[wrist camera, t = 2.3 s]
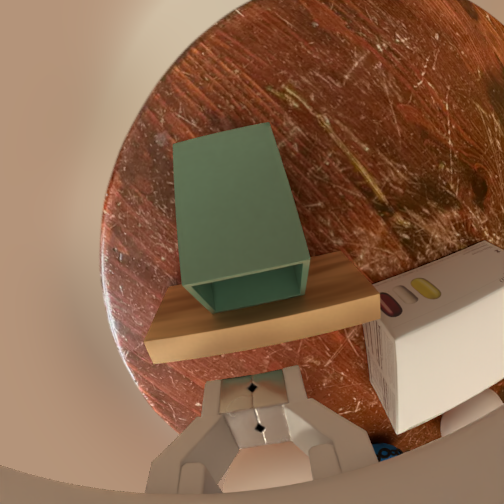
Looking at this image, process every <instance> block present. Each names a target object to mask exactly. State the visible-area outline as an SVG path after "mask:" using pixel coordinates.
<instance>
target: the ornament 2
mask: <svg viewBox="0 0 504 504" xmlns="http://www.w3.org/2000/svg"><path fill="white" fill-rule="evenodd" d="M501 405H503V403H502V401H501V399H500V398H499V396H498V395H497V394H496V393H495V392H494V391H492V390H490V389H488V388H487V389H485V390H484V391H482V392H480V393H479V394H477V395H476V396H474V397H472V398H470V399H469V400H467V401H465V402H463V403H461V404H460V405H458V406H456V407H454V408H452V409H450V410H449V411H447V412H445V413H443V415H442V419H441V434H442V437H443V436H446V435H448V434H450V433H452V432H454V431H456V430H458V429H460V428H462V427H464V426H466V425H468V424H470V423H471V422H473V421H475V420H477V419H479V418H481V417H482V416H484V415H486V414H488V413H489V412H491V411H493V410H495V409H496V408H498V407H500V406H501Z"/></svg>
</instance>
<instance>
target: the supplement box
mask: <svg viewBox="0 0 504 504" xmlns="http://www.w3.org/2000/svg"><path fill="white" fill-rule="evenodd" d="M372 285H373V286H374V287H375V288H376V290H377V291H378V292H379V293H380V311H381V318H380V319H378V320H374V321H370V322H367V323H363V330H364V337H365V344H366V351H367V358H368V366H369V375H370V382H371V384H372V386H373V387H374V389H375V391H376V393H377V395H378V397H379V399H380V401H381V403H382V405H383V407H384V409H385V411H386V413H387V415H388V418H389V420H390V422H391V424H392V426H393V428H394V430H395V432H396V434H397V435H398V434H400V433H403V432H405V431H407V430H409V429H411V428H414V427H416V426H418V425H420V424H422V423H425V422H427V421H429V420H431V419H433V418H435V417H437V416H439V415H441V414H443V413H445V412H447V411H449V410H450V409H452V408H454V407H456V406H458V405H460V404H461V403H463V402H465V401H467V400H469V399H470V398H472V397H474V396H476V395H477V394H479V393H480V392H482V391H484V390H485V389H487V388H489V387H490V386H492V385H493V384H495V383H497V382H498V381H500V380H501V379H503V378H504V250H503V249H501V248H499V247H497V246H495V245H493V244H491V243H489V242H487V241H485V240H484V241H482V242H479V243H477V244H475V245H473V246H470V247H468V248H465V249H463V250H461V251H458V252H456V253H453V254H451V255H449V256H446V257H444V258H441V259H439V260H436V261H434V262H431V263H429V264H426V265H423V266H421V267H418V268H416V269H413V270H410V271H408V272H405V273H402V274H400V275H397V276H394V277H391V278H389V279H386V280H383V281H380V282H378V283H375V284H372Z"/></svg>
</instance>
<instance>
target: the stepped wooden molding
mask: <svg viewBox="0 0 504 504" xmlns="http://www.w3.org/2000/svg"><path fill="white" fill-rule="evenodd" d="M310 258H311V259H310V266H309V273H308V279H307V286H306V292H305V295H303V296H299V297H294V298H290V299H285V300H281V301H276V302H271V303H266V304H261V305H257V306H252V307H247V308H242V309H237V310H232V311H226V312H221V313H216V314H211V313H210V312H209V311H208V310H207V309H206V308H205V307H204V306H203V305H202V304H201V303H200V302H198V301H197V300H196V299H195V298H194V297H193V296H192V295H191V294H190V293H189V292H188V291H187V290H186V289H185V288H184V287H183V286H182V284H181V285H176V286H171V287H168V289H167V292H166V294H165V296H164V298H163V300H162V302H161V304H160V306H159V309H158V311H157V313H156V315H155V317H154V319H153V321H152V324H151V326H150V328H149V330H148V332H147V335H146V337H145V339H144V341H143V342H144V344H145V346H146V349H147V351H148V353H149V355H150V358H151V360H152V362H153V364H159V363H167V362H174V361H182V360H189V359H196V358H203V357H209V356H215V355H221V354H227V353H233V352H239V351H244V350H250V349H255V348H260V347H265V346H270V345H275V344H280V343H285V342H290V341H294V340H299V339H303V338H307V337H312V336H316V335H320V334H324V333H328V332H333V331H337V330H340V329H344V328H348V327H352V326H356V325H360V324H363V323H367V322H370V321H374V320H378V319H380V318H381V311H380V293H379V292H378V291H377V290H376V288H375V287H374V286H373V285H372V284H371V283H370V282H369V281H368V280H367V278H366V277H365V276H364V275H363V274H362V273H361V272H360V271H359V270H358V269H357V267H356V266H355V265H354V264H353V263H352V262H351V261H350V260H349V259H348V258H347V257H346V256H345V254H344V253H343V252H342V251H337V252H332V253H328V254H323V255H319V256H314V257H310Z"/></svg>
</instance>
